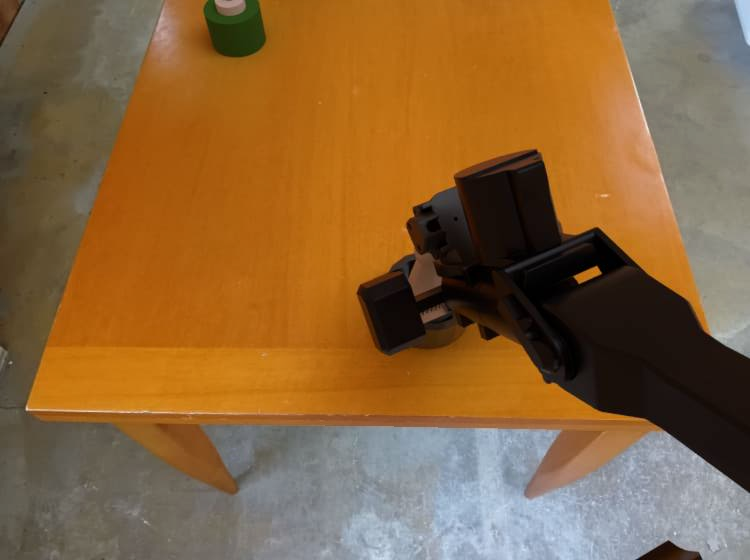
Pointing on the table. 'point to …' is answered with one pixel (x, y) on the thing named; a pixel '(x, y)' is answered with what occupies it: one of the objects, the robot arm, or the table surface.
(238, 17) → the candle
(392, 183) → the table surface
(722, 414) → the robot arm
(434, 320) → the salt shaker
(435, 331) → the holder
